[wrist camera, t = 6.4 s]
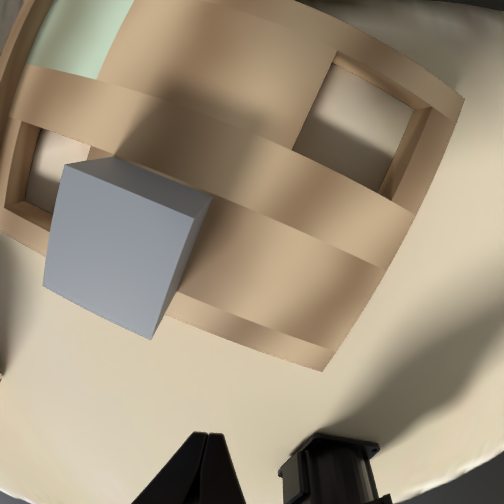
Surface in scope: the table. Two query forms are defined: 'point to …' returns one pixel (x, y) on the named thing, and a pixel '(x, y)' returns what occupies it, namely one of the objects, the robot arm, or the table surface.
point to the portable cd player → (480, 3)
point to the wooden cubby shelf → (227, 150)
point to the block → (121, 240)
